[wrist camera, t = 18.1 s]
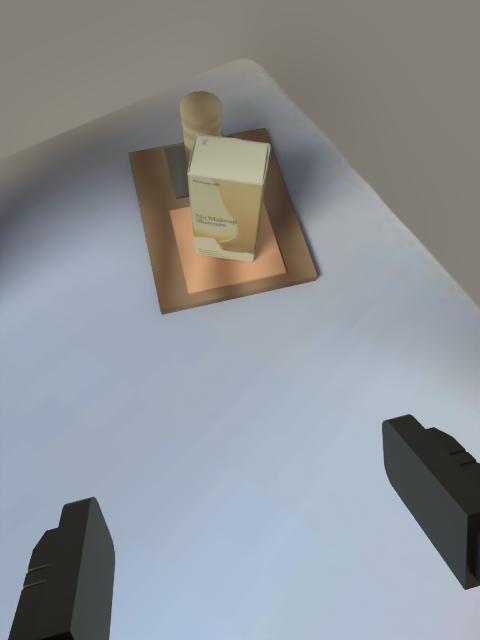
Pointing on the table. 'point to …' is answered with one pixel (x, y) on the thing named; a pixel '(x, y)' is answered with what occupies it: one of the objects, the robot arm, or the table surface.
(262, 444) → the table surface
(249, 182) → the skincare box
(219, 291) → the board
